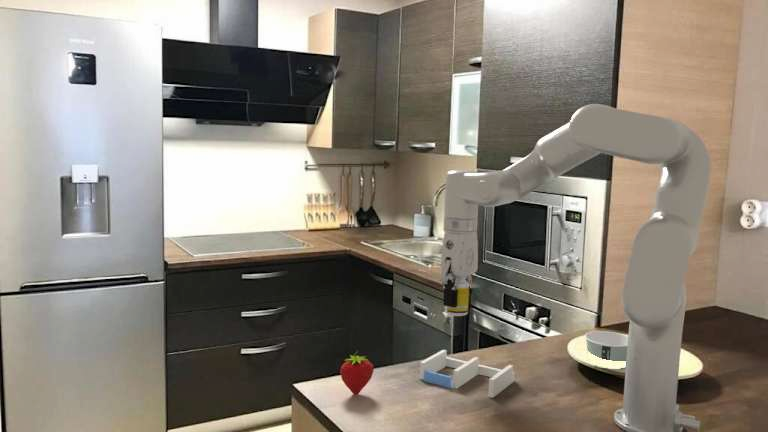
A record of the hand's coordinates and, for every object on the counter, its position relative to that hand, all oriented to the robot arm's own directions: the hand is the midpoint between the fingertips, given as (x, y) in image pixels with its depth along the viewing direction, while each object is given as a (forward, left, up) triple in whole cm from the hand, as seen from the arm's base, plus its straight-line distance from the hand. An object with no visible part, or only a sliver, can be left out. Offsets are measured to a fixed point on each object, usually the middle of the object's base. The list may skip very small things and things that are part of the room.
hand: (456, 302), depth 147 cm
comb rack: (-3, 0, -18) cm, 18 cm away
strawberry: (+13, +21, -18) cm, 31 cm away
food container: (-26, -33, -18) cm, 46 cm away
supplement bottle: (0, 0, -3) cm, 3 cm away
